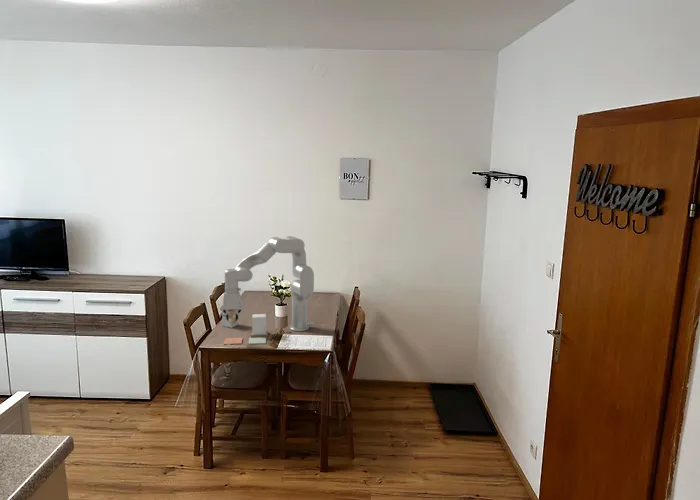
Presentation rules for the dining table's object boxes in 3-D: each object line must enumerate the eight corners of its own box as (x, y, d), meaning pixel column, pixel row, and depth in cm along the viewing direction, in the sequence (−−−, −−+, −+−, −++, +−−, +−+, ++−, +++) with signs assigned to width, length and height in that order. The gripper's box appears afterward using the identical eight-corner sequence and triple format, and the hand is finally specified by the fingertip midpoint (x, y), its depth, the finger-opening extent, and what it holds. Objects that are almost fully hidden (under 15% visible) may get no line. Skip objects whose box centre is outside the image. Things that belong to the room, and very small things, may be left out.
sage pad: (265, 338, 303) (265, 337, 303) (265, 343, 294) (265, 342, 294) (249, 338, 302) (249, 337, 301) (248, 344, 293) (248, 343, 293)
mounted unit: (267, 332, 313) (267, 313, 311) (267, 336, 306) (267, 317, 303) (251, 332, 312) (251, 313, 310) (250, 337, 304) (250, 318, 302)
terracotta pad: (242, 338, 302) (242, 337, 302) (241, 344, 293) (241, 343, 293) (225, 339, 300) (225, 338, 300) (223, 344, 292) (223, 343, 292)
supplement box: (222, 326, 323) (221, 307, 320) (229, 322, 329) (228, 304, 327) (231, 328, 320) (230, 309, 317) (238, 324, 326) (238, 306, 324)
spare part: (236, 321, 297) (235, 308, 295) (235, 323, 293) (235, 310, 291) (229, 321, 296) (228, 308, 295) (228, 323, 292) (228, 310, 291)
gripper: (246, 288, 296) (247, 318, 299) (217, 289, 293) (218, 318, 297) (246, 291, 288) (246, 322, 292) (216, 292, 286) (217, 323, 289)
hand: (232, 320), depth 294 cm, fingers closed on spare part, 4 cm apart
